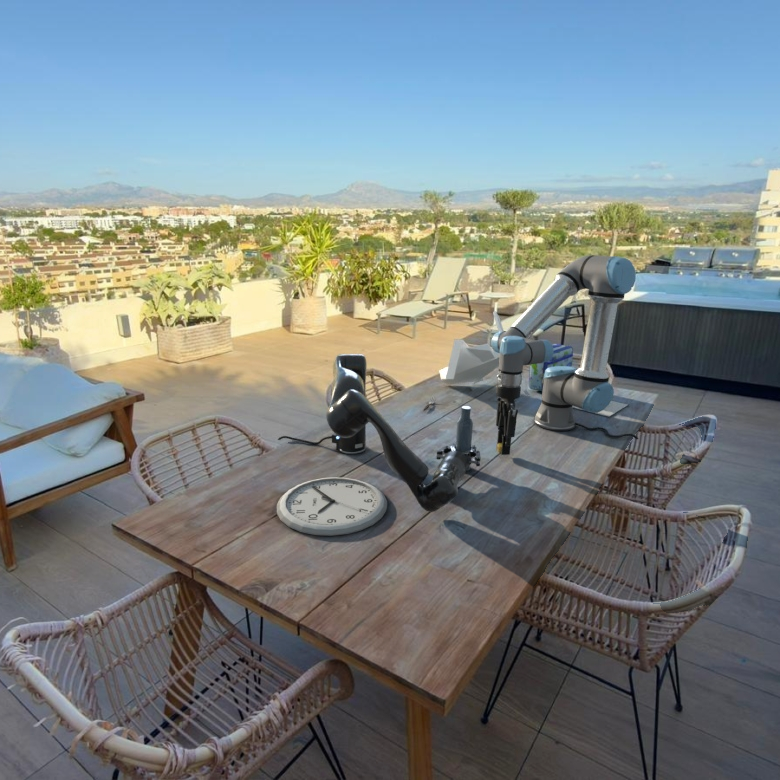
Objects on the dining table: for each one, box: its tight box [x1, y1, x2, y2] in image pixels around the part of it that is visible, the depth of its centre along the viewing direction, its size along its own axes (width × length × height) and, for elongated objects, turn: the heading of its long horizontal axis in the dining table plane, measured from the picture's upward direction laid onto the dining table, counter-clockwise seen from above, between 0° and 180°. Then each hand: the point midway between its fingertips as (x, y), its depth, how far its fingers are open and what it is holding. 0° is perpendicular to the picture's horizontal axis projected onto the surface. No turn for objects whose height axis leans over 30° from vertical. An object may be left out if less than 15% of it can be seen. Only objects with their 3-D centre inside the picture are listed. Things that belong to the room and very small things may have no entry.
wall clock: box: [276, 476, 388, 537], centre depth 142 cm, size 30×2×30 cm
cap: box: [496, 443, 502, 454], centre depth 175 cm, size 4×4×2 cm
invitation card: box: [573, 400, 629, 418], centre depth 226 cm, size 21×1×15 cm
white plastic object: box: [438, 310, 531, 397], centre depth 245 cm, size 37×45×31 cm
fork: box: [422, 395, 437, 412], centre depth 223 cm, size 3×16×2 cm, turn 160°
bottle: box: [455, 405, 474, 472], centre depth 163 cm, size 5×5×20 cm
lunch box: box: [528, 343, 574, 392], centre depth 248 cm, size 26×11×21 cm, turn 134°
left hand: (465, 446), depth 167 cm, fingers closed on bottle, 4 cm apart
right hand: (503, 451), depth 175 cm, fingers closed on cap, 4 cm apart
